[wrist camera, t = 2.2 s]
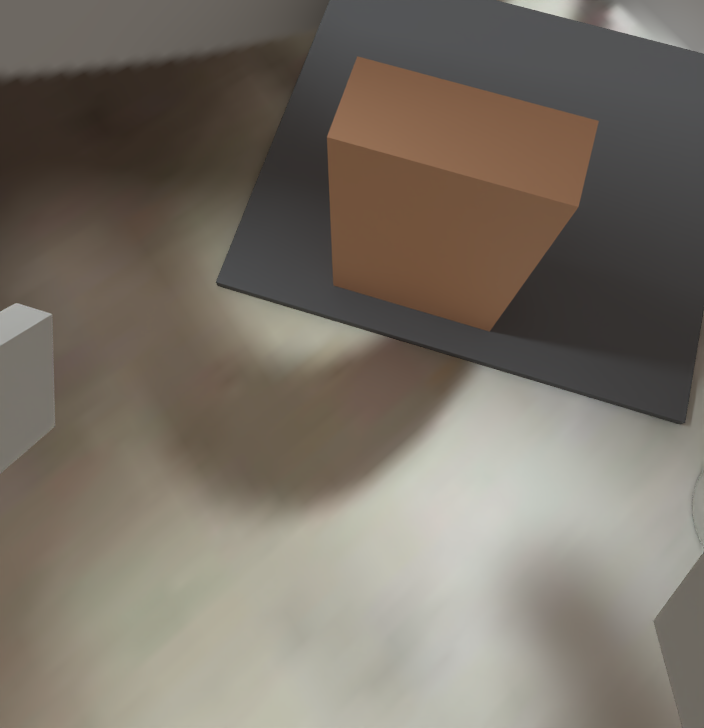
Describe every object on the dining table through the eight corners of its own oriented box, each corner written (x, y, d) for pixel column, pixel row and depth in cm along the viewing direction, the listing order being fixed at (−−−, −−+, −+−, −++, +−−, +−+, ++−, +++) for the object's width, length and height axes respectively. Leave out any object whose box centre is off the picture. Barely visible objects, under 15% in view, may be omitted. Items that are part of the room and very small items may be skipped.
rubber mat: (217, 285, 29) (215, 282, 28) (345, -32, 34) (345, -39, 34) (680, 424, 27) (684, 422, 27) (739, 69, 32) (744, 64, 32)
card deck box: (333, 285, 28) (327, 137, 18) (352, 229, 29) (357, 56, 19) (489, 331, 28) (578, 206, 17) (504, 273, 29) (598, 120, 18)
